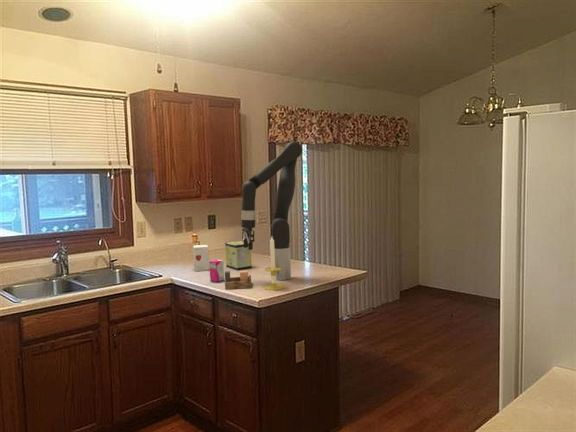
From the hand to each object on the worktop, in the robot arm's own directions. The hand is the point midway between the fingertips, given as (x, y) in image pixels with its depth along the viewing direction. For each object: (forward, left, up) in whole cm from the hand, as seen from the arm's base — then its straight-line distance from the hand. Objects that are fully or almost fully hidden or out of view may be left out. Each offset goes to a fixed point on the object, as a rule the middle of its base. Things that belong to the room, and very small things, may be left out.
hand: (247, 248), depth 269 cm
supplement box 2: (+18, -5, -18) cm, 26 cm away
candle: (-13, +18, -18) cm, 29 cm away
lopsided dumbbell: (+6, +10, -16) cm, 20 cm away
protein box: (+8, -41, -18) cm, 46 cm away
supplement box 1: (+31, -40, -18) cm, 54 cm away
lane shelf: (+5, +10, -18) cm, 21 cm away
